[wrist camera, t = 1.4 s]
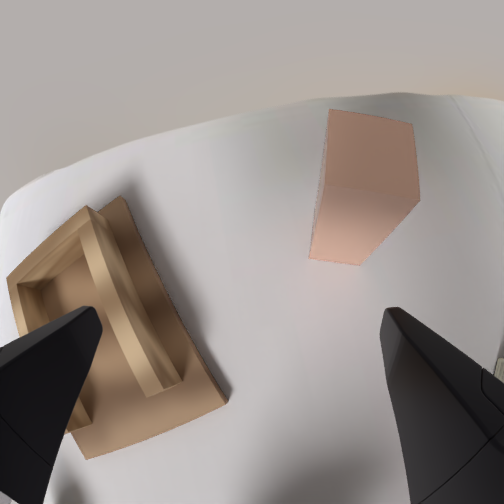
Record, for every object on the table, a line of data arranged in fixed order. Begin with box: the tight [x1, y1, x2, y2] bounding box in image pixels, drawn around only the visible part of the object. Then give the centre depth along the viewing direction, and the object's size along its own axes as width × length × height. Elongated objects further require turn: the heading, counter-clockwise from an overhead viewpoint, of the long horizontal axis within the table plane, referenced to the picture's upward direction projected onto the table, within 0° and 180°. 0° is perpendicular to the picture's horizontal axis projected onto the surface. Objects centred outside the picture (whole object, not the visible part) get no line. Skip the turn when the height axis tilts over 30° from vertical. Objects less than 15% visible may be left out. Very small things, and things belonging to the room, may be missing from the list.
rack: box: [6, 196, 228, 460], centre depth 21 cm, size 20×16×4 cm
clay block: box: [309, 109, 420, 266], centre depth 17 cm, size 4×4×12 cm
